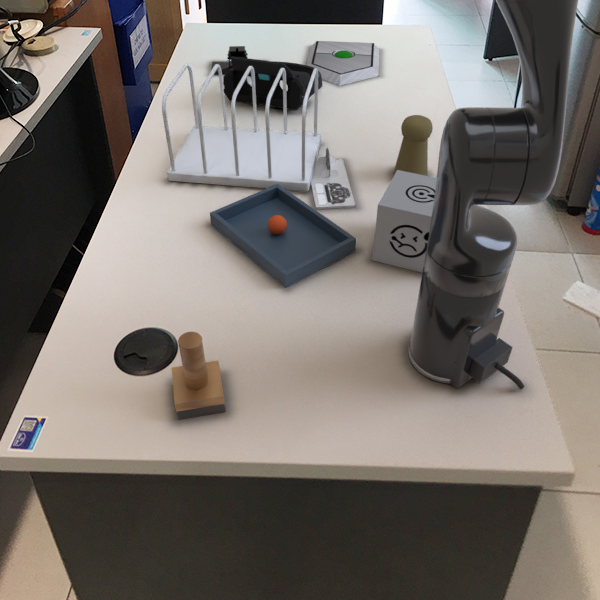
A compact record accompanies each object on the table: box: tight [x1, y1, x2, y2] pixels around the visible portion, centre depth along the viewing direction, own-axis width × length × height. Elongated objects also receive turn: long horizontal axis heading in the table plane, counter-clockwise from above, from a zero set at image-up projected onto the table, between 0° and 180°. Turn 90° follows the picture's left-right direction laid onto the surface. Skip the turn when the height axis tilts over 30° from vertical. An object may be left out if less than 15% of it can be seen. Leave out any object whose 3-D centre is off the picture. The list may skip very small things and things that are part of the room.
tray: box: [209, 184, 357, 288], centre depth 98 cm, size 20×14×2 cm
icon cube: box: [371, 170, 437, 274], centre depth 93 cm, size 10×10×10 cm
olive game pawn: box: [393, 114, 433, 177], centre depth 108 cm, size 6×6×11 cm
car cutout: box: [310, 146, 356, 211], centre depth 109 cm, size 15×7×4 cm, turn 5°
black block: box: [210, 45, 248, 76], centre depth 146 cm, size 12×7×5 cm, turn 93°
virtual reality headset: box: [222, 56, 323, 111], centre depth 134 cm, size 19×22×10 cm
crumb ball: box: [268, 215, 287, 235], centre depth 98 cm, size 3×3×3 cm
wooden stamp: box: [171, 331, 227, 420], centre depth 72 cm, size 6×6×10 cm
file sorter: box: [161, 63, 322, 192], centre depth 110 cm, size 25×17×16 cm
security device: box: [305, 40, 380, 87], centre depth 147 cm, size 17×22×2 cm
